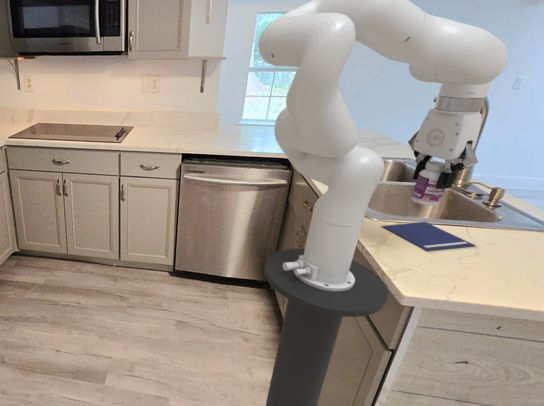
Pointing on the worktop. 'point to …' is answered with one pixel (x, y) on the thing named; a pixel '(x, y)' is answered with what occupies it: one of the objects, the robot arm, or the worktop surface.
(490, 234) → the worktop surface
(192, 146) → the worktop surface
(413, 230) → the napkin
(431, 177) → the pill bottle
